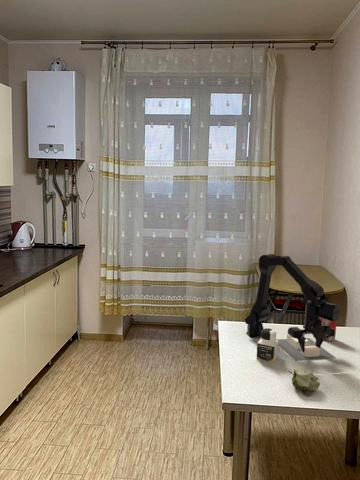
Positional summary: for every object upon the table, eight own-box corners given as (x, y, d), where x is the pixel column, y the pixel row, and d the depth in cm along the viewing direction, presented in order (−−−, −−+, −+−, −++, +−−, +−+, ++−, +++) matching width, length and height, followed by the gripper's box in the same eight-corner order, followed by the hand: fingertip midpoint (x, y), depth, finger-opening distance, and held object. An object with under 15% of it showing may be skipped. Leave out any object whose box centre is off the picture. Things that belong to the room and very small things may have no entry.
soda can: (337, 342, 189) (339, 316, 187) (321, 342, 189) (323, 316, 187) (332, 336, 196) (333, 312, 194) (317, 336, 196) (318, 311, 194)
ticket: (296, 349, 179) (297, 342, 178) (286, 340, 189) (287, 334, 188) (309, 348, 180) (310, 341, 180) (299, 340, 190) (299, 333, 189)
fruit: (287, 394, 143) (285, 370, 144) (300, 387, 150) (298, 365, 151) (312, 399, 137) (310, 374, 138) (324, 391, 144) (322, 368, 144)
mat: (295, 361, 167) (295, 360, 167) (272, 340, 189) (272, 339, 189) (336, 359, 170) (336, 358, 170) (308, 338, 193) (309, 337, 193)
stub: (306, 357, 171) (306, 349, 170) (300, 352, 176) (300, 345, 175) (319, 356, 172) (320, 348, 172) (313, 351, 177) (314, 344, 176)
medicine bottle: (256, 359, 169) (257, 330, 167) (261, 353, 175) (262, 325, 173) (273, 363, 165) (275, 334, 164) (278, 356, 172) (279, 328, 170)
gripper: (300, 322, 162) (298, 360, 164) (344, 320, 166) (341, 358, 168) (288, 313, 173) (286, 349, 175) (329, 312, 176) (326, 347, 178)
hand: (310, 351), depth 174 cm, fingers closed on stub, 6 cm apart
